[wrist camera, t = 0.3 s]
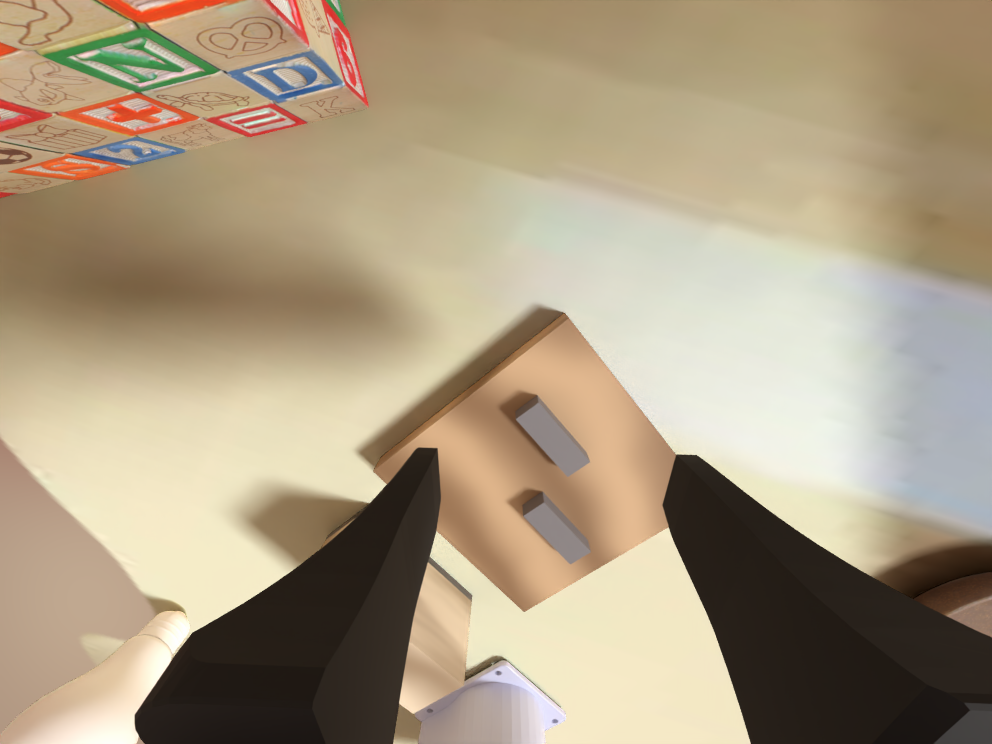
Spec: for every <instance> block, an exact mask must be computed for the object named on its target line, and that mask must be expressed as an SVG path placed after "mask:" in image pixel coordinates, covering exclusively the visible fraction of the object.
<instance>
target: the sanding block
mask: <svg viewBox="0 0 992 744" xmlns="http://www.w3.org/2000/svg"><path fill="white" fill-rule="evenodd" d="M366 507H367V506H366ZM366 507H365V508H366ZM365 508H364V509H365ZM364 509H362V510H361V511H360V512H358V513H357V514H356V515H354V516H353V517H352V518H350V519H349V520H348V521H346V522H345V523H344V524H343V525H341V526H340V527H339V528H337V529H336V530H335V531H333V532H332V533H331V534H329V535H328V537H327V539H326V541H325V542H324V544H323V546H322V547H324V546H325V545H326V544H327V543H328V542H330V541H331V540H332V539H333V538H334V537H335V536H336V535H338V534H339V533H340V532H341V531H342V530H343V529H344V528H345V527H346V526H348V525H349V524H350V523H351V522H352V521H353V520H354V519H355V518H356V517H357V516H358V515H359V514H360V513H361V512H362V511H363V510H364ZM322 547H321V548H322ZM471 602H472V595H471V594H470V593H469V592H468V591H467V590H466V589H465V588H464V587H462V586H461V585H460V584H459V583H458V582H457V581H456V580H455V579H454V578H452V577H451V576H450V575H449V574H448V573H447V572H446V571H445V570H444V569H443V568H441V567H440V566H439V565H438V564H437V563H436V562H435V561H434V560H433V559H431V558H430V557H429V560H428V564H427V567H426V571H425V575H424V579H423V582H422V586H421V590H420V593H419V597H418V601H417V605H416V609H415V614H414V618H413V623H412V629H411V635H410V641H409V646H408V652H407V658H406V664H405V670H404V676H403V682H402V688H401V694H400V701H399V704H400V705H402V706H403V707H404V708H406V709H407V710H408V711H410V712H411V713H412V714H414V713H416V712H417V711H419V710H421V709H423V708H425V707H426V706H428V705H430V704H432V703H434V702H435V701H437V700H439V699H441V698H442V697H444V696H446V695H448V694H450V693H451V692H453V691H455V690H457V689H459V688H460V687H462V686H464V679H465V668H466V657H467V646H468V635H469V624H470V613H471Z"/></svg>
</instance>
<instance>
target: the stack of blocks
mask: <svg viewBox="0 0 992 744" xmlns="http://www.w3.org/2000/svg"><path fill="white" fill-rule="evenodd" d="M367 108H368V102H367V98H366V94H365V91H364V87H363V83H362V79H361V76H360V72H359V68H358V64H357V61H356V57H355V53H354V50H353V46H352V43H351V39H350V35H349V32H348V30H347V28H346V24H345V21H344V17H343V13H342V9H341V5H340V2H339V0H0V198H2V197H6V196H9V195H13V194H18V193H21V194H24V193H30V192H34V191H38V190H42V189H46V188H50V187H53V186H57V185H61V184H65V183H69V182H72V181H74V180H81V179H86V178H90V177H94V176H98V175H103V174H107V173H111V172H115V171H119V170H122V169H127V168H130V166H131V165H133V164H139V163H143V162H147V161H151V160H155V159H159V158H163V157H167V156H171V155H175V154H179V153H184V152H186V151H187V150H192V149H197V148H201V147H205V146H209V145H213V144H217V143H221V142H225V141H229V140H233V139H237V138H240V137H243V136H247V137H252V136H256V135H261V134H265V133H269V132H273V131H277V130H281V129H285V128H289V127H293V126H297V125H301V124H305V123H308V122H316V121H320V120H324V119H329V118H333V117H337V116H341V115H345V114H349V113H353V112H357V111H361V110H365V109H367Z"/></svg>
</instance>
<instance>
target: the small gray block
mask: <svg viewBox="0 0 992 744" xmlns="http://www.w3.org/2000/svg"><path fill="white" fill-rule="evenodd" d="M522 506H523V517H524V518H525V519H526V520H527V521H528V522H529V523H530V524H531V525H532V526H533V527H534V528H535V529H536V530H537V531H538V532H539V533H540V534H541V535H542V536H543V537H544V538H545V539H546V540H547V541H548V542H549V543H550V544H551V545H552V546H553V547H554V548H555V549H556V550H557V551H558V552H559V554H560V555H561V556H562V557H563V558H564V559H565V560H566V561H567V562H568V563H569V564H572V563H574V562H575V561H577V560H579V559H580V558H582V557H584V556H585V555H587V554H589V553H590V552H591V550H590V546H589V543H588V539H587V538H586V537H585V536H584V535H583V534H582V533H581V532H580V531H579V530H578V529H577V528H576V527H575V526H574V525H573V523H572V522H571V521H570V520H569V519H568V518H567V517H566V516H565V515H564V514H563V513H562V512H561V511H560V510H559V508H558V507H557V506H556V505H555V504H554V503H553V502H552V501H551V500H550V499H549V498H548V497H547V496H546V495H545V493H544V492H543V491H542V492H541V493H539V494H538V495H536V496H535V497H533V498H532V499H530V500H529V501H527V502H526V503H524V504H523V505H522Z"/></svg>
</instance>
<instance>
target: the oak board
mask: <svg viewBox="0 0 992 744" xmlns="http://www.w3.org/2000/svg"><path fill="white" fill-rule="evenodd" d="M536 395H538V396H539V398H540V399H541V400H542V401H543V402H544V403H545V405H546V406H547V407H548V408H549V409H550V410H551V412H552V413H553V414H554V415H555V416H556V417H557V419H558V420H559V421H560V422H561V423H562V424H563V425H564V427H565V428H566V429H567V430H568V431H569V432H570V434H571V435H572V436H573V437H574V438H575V439H576V441H577V442H578V443H579V444H580V445H581V446H582V448H583V449H584V450H585V451H586V452H587V455H588V457H589V460H590V463H588V464H587V465H585V466H584V467H582V468H581V469H579V470H578V471H576V472H575V473H573V474H572V475H570V476H569V477H567V476H566V475H565V474H564V472H563V471H562V470H561V469H560V468H559V467H558V466H557V465H556V464H555V462H554V461H553V460H552V459H551V458H550V457H549V456H548V455H547V454H546V452H545V451H544V450H543V449H542V448H541V447H540V446H539V445H538V444H537V442H536V441H535V440H534V439H533V438H532V437H531V436H530V435H529V434H528V432H527V431H526V430H525V429H524V428H523V427H522V426H521V425H520V424H519V422H518V421H517V420H516V415H515V411H516V410H518V409H519V408H520V407H522V406H523V405H524V404H526V403H527V402H528V401H530V400H531V399H532V398H534V397H535V396H536ZM418 447H422V448H438V460H439V474H440V489H441V503H440V510H439V517H438V523H437V531H438V532H439V533H440V534H441V535H442V536H443V537H444V538H445V539H446V540H447V541H448V542H450V543H451V544H452V545H453V546H454V547H455V548H456V549H457V550H458V551H459V552H460V553H461V554H462V555H463V556H465V557H466V558H467V559H468V560H469V561H470V562H471V563H472V564H473V565H474V566H475V567H476V568H477V569H478V570H480V571H481V572H482V573H483V574H484V575H485V576H486V577H487V578H488V579H489V580H490V581H491V582H492V583H494V584H495V585H496V586H497V587H498V588H499V589H500V590H501V591H502V592H503V593H504V594H505V595H506V596H507V597H509V598H510V599H511V600H512V601H513V602H514V603H515V604H516V605H517V606H518V607H519V608H520V609H521V610H522V611H524V612H525V611H527V610H528V609H530V608H532V607H533V606H535V605H537V604H539V603H540V602H542V601H544V600H545V599H547V598H549V597H550V596H552V595H554V594H556V593H557V592H559V591H561V590H562V589H564V588H566V587H567V586H569V585H571V584H573V583H574V582H576V581H578V580H579V579H581V578H583V577H584V576H586V575H588V574H589V573H591V572H593V571H595V570H596V569H598V568H600V567H601V566H603V565H605V564H606V563H608V562H610V561H612V560H613V559H615V558H617V557H618V556H620V555H622V554H623V553H625V552H627V551H629V550H630V549H632V548H634V547H635V546H637V545H639V544H640V543H642V542H644V541H646V540H647V539H649V538H651V537H652V536H654V535H656V534H657V533H659V532H661V531H663V530H664V529H666V528H668V527H669V526H668V523H667V520H666V516H665V513H664V509H663V506H662V504H663V501H664V497H665V493H666V490H667V486H668V482H669V479H670V475H671V471H672V468H673V464H674V460H675V457H676V454H675V453H674V452H673V450H672V449H671V448H670V447H669V445H668V444H667V443H666V441H665V440H664V439H663V438H662V436H661V435H660V434H659V433H658V431H657V430H656V429H655V427H654V426H653V425H652V424H651V422H650V421H649V420H648V418H647V417H646V416H645V415H644V413H643V412H642V411H641V410H640V408H639V407H638V406H637V404H636V403H635V402H634V401H633V399H632V398H631V397H630V396H629V394H628V393H627V392H626V390H625V389H624V388H623V387H622V385H621V384H620V383H619V381H618V380H617V379H616V378H615V376H614V375H613V374H612V373H611V371H610V370H609V369H608V367H607V366H606V365H605V364H604V362H603V361H602V360H601V358H600V357H599V356H598V355H597V353H596V352H595V351H594V350H593V348H592V347H591V346H590V344H589V343H588V342H587V341H586V339H585V338H584V337H583V335H582V334H581V333H580V332H579V330H578V329H577V328H576V327H575V325H574V324H573V323H572V321H571V320H570V319H569V318H568V316H567V315H566V314H565V313H564V314H562V315H561V316H560V317H558V318H557V319H556V320H555V321H553V322H552V323H551V324H550V325H548V326H547V327H546V328H544V329H543V330H542V331H541V332H539V333H538V334H537V335H536V336H534V337H533V338H532V339H530V340H529V341H528V342H527V343H525V344H524V345H523V346H522V347H520V348H519V349H518V350H516V351H515V352H514V353H513V354H511V355H510V356H509V357H508V358H506V359H505V360H504V361H502V362H501V363H500V364H499V365H497V366H496V367H495V368H494V369H492V370H491V371H490V372H489V373H487V374H486V375H485V376H483V377H482V378H481V379H480V380H478V381H477V382H476V383H475V384H473V385H472V386H471V387H469V388H468V389H467V390H466V391H464V392H463V393H462V394H461V395H459V396H458V397H457V398H455V399H454V400H453V401H452V402H450V403H449V404H448V405H447V406H445V407H444V408H443V409H441V410H440V411H439V412H438V413H436V414H435V415H434V416H433V417H431V418H430V419H429V420H427V421H426V422H425V423H424V424H422V425H421V426H420V427H419V428H417V429H416V430H415V431H413V432H412V433H411V434H410V435H408V436H407V437H406V438H405V439H403V440H402V441H401V442H399V443H398V444H397V445H396V446H394V447H393V448H392V449H391V450H389V451H388V452H387V453H385V454H384V455H383V456H382V457H381V458H380V459H379V461H378V463H377V465H376V467H375V468H374V470H373V472H374V473H376V474H377V475H378V476H379V477H380V478H381V479H382V480H383V481H384V482H385V483H386V484H388V483H389V482H390V480H391V479H392V478H393V477H394V476H395V474H396V473H397V472H398V471H399V470H400V468H401V467H402V466H403V465H404V463H405V462H406V461H407V459H408V458H409V457H410V456H411V454H412V453H413V452H414V450H415V449H417V448H418ZM542 491H543V492H544V493H545V495H546V496H547V497H548V498H549V499H550V500H551V501H552V502H553V503H554V504H555V505H556V506H557V507H558V508H559V510H560V511H561V512H562V513H563V514H564V515H565V516H566V517H567V518H568V519H569V520H570V521H571V522H572V523H573V525H574V526H575V527H576V528H577V529H578V530H579V531H580V532H581V533H582V534H583V535H584V536H585V537H586V538H587V539H588V543H589V546H590V550H591V552H590V553H589V554H587V555H585V556H584V557H582V558H580V559H579V560H577V561H575V562H574V563H572V564H569V563H568V562H567V561H566V560H565V559H564V558H563V557H562V556H561V555H560V554H559V552H558V551H557V550H556V549H555V548H554V547H553V546H552V545H551V544H550V543H549V542H548V541H547V540H546V539H545V538H544V537H543V536H542V535H541V534H540V533H539V532H538V531H537V530H536V529H535V528H534V527H533V526H532V525H531V524H530V523H529V522H528V521H527V520H526V519H525V518H524V517H523V506H522V505H523V504H524V503H526V502H527V501H529V500H530V499H532V498H533V497H535V496H536V495H538V494H539V493H541V492H542Z"/></svg>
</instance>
